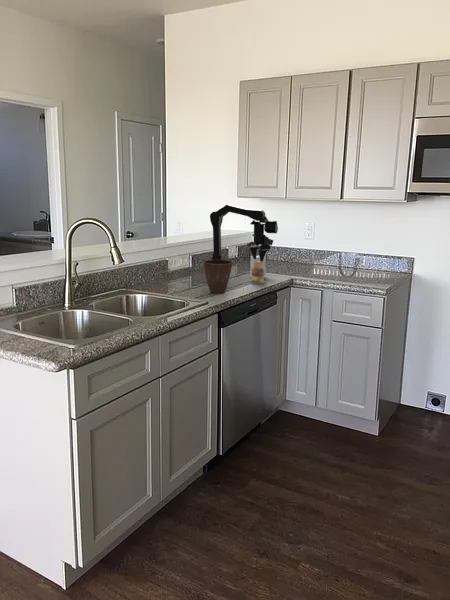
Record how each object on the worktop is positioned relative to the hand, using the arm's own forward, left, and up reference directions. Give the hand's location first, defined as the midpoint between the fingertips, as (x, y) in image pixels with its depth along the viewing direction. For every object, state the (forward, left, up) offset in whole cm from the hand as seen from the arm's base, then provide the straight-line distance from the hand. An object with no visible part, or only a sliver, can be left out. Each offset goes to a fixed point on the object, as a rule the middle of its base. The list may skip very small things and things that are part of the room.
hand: (258, 260), depth 287 cm
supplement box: (+8, +17, -13) cm, 23 cm away
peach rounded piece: (0, 0, -5) cm, 5 cm away
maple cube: (0, 0, -13) cm, 13 cm away
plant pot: (-30, -15, -13) cm, 36 cm away
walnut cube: (0, 0, -9) cm, 9 cm away
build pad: (0, 0, -13) cm, 13 cm away
